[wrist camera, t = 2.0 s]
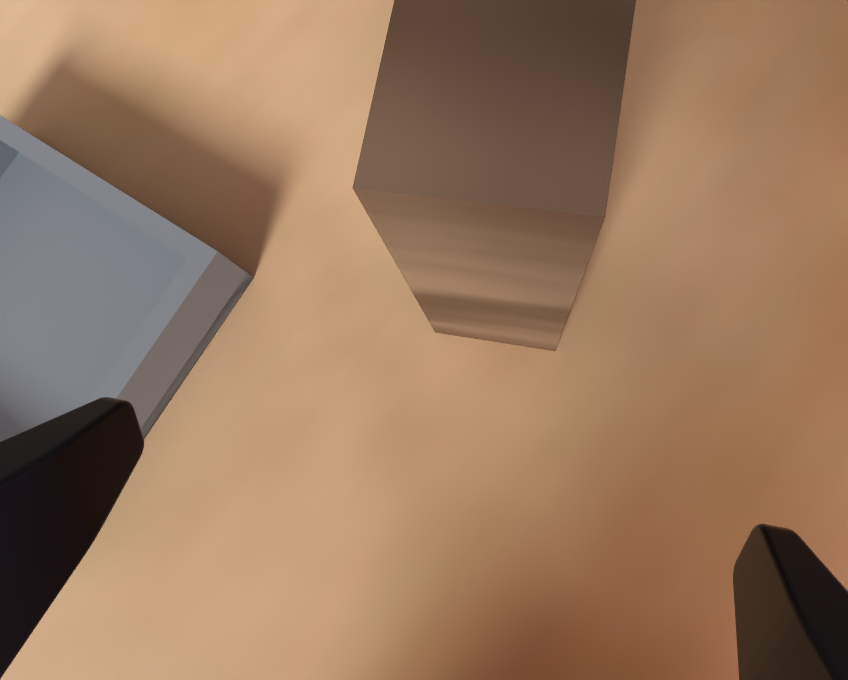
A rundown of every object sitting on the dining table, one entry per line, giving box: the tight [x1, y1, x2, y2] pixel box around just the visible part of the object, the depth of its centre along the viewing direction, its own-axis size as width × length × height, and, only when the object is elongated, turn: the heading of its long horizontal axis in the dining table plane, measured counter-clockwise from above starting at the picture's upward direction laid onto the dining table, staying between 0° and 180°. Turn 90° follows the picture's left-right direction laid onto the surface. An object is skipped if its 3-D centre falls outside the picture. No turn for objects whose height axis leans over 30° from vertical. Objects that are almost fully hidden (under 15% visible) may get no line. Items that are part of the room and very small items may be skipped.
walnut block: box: [353, 0, 636, 351], centre depth 17 cm, size 5×4×12 cm
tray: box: [0, 116, 253, 442], centre depth 23 cm, size 13×13×3 cm
